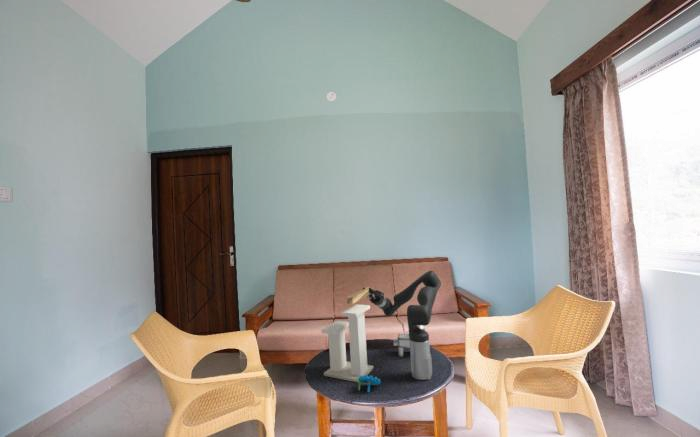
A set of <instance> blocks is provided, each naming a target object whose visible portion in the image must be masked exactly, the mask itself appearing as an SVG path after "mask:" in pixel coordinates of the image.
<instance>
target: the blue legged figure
mask: <svg viewBox="0 0 700 437" xmlns="http://www.w3.org/2000/svg"><path fill="white" fill-rule="evenodd" d="M355 383H357V385H358V388H357V389H358V391H361V386H367V389H366V390H367V391H366V392H367V393H370V392H371V391H370V390H371V386H375V385H376V386H378V385H380V384H381V379H380V378H378V377H377V376H374V377H373V375H371V374H370V375H364V376H362V375H361V376H360V377H359V378H358V379H357V380H356V382H355Z"/></svg>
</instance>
